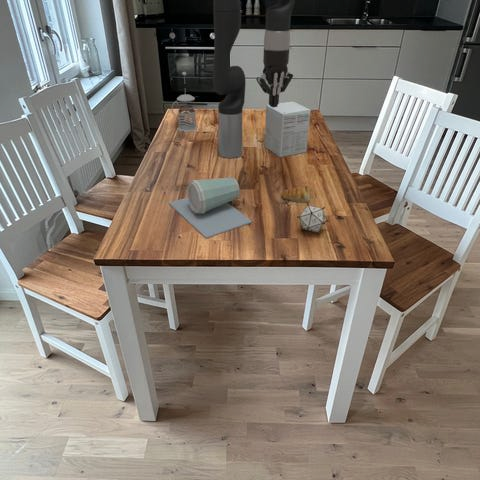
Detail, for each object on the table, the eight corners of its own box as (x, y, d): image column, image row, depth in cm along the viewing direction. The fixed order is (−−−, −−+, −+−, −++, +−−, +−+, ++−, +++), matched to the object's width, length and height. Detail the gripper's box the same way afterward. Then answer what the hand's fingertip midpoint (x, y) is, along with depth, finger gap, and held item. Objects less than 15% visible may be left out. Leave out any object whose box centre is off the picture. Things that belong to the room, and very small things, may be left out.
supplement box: (307, 152, 170) (311, 109, 161) (279, 157, 166) (282, 114, 156) (290, 141, 180) (293, 100, 170) (263, 146, 175) (265, 104, 166)
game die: (303, 238, 124) (292, 207, 124) (331, 229, 123) (320, 197, 123) (305, 241, 115) (293, 207, 115) (334, 231, 114) (322, 196, 114)
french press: (197, 132, 189) (194, 74, 175) (171, 131, 189) (166, 74, 175) (199, 125, 197) (196, 69, 183) (174, 124, 197) (170, 69, 183)
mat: (168, 203, 134) (168, 202, 133) (211, 191, 141) (211, 190, 141) (206, 238, 117) (206, 237, 117) (252, 222, 125) (252, 221, 124)
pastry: (281, 202, 136) (282, 191, 133) (281, 192, 141) (282, 182, 139) (310, 203, 135) (311, 193, 133) (309, 194, 141) (310, 184, 138)
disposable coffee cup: (226, 169, 134) (182, 178, 128) (241, 173, 125) (195, 183, 119) (230, 200, 137) (188, 211, 131) (245, 207, 128) (201, 218, 122)
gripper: (286, 43, 127) (282, 100, 137) (250, 47, 121) (249, 106, 131) (302, 46, 122) (297, 106, 132) (266, 51, 116) (263, 113, 125)
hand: (273, 106), depth 131 cm, fingers closed
